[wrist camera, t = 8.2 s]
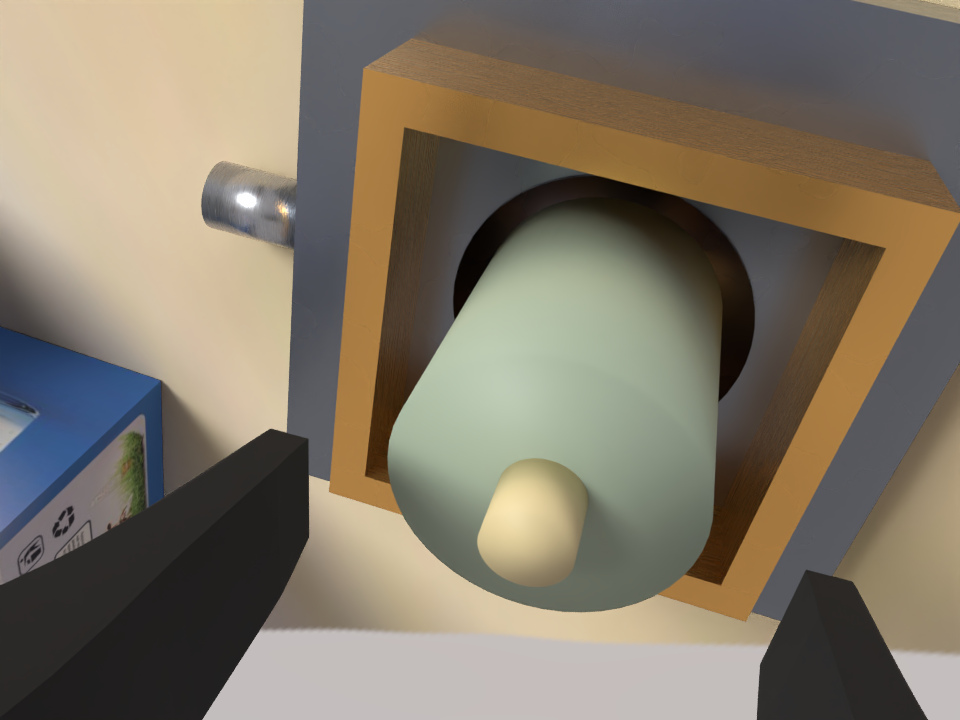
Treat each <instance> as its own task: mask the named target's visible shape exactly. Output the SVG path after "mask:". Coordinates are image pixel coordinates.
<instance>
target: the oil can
mask: <svg viewBox="0 0 960 720" xmlns="http://www.w3.org/2000/svg"><path fill="white" fill-rule="evenodd" d="M722 310H723V305H722V296H721V290H720V286H719V282H718V278H717V276H716V273H715V271H714V269H713V266H712V264H711V262H710V261H709V259H708V257H707V256H706V254H705V252H704V251H703V249H702V248H701V247H700V246H699V245H698V243H697V242H696V241H695V240H694V239H693V237H691V236H690V235H689V234H688V233H687V232H686V231H685V230H684V229H683V228H682V227H681V226H679V225H678V224H676V223H675V222H674V221H672V220H671V219H669V218H668V217H666V216H664V215H662V214H661V213H659V212H657V211H655V210H653V209H651V208H648V207H645V206H643V205H640V204H638V203H634V202H630V201H626V200H622V199H615V198H606V197H586V198H578V199H571V200H567V201H563V202H560V203H556V204H553V205H551V206H548V207H546V208H544V209H541V210H539V211H538V212H536V213H534V214H532V215H531V216H529V217H527V218H526V219H525V220H524V221H522V222H521V223H520V224H519V225H517V226H516V227H515V228H514V229H513V230H512V231H511V232H510V233H509V234H508V235H507V237H506V238H505V239H504V241H503V242H502V243H501V245H500V246H499V248H498V249H497V251H496V253H495V254H494V256H493V258H492V259H491V261H490V263H489V264H488V266H487V268H486V269H485V271H484V273H483V274H482V276H481V278H480V279H479V281H478V283H477V284H476V286H475V288H474V289H473V291H472V293H471V294H470V296H469V298H468V299H467V301H466V303H465V304H464V306H463V308H462V309H461V311H460V313H459V314H458V316H457V318H456V319H455V321H454V323H453V324H452V326H451V328H450V330H449V331H448V333H447V335H446V336H445V338H444V340H443V341H442V343H441V345H440V346H439V348H438V350H437V351H436V353H435V355H434V356H433V358H432V360H431V361H430V363H429V365H428V366H427V368H426V370H425V371H424V373H423V375H422V376H421V378H420V380H419V381H418V383H417V385H416V386H415V388H414V390H413V391H412V393H411V395H410V396H409V398H408V400H407V401H406V403H405V405H404V406H403V408H402V410H401V412H400V414H399V416H398V418H397V420H396V422H395V424H394V426H393V430H392V433H391V437H390V440H389V448H388V457H387V458H388V474H389V479H390V483H391V488H392V491H393V494H394V497H395V500H396V502H397V505H398V507H399V509H400V511H401V513H402V515H403V517H404V519H405V520H406V522H407V523H408V525H409V526H410V528H411V529H412V531H413V532H414V534H415V535H416V536H417V537H418V538H419V540H420V541H421V542H422V543H423V544H424V545H425V547H426V548H427V549H428V550H429V551H430V552H431V553H432V554H434V555H435V556H436V557H437V558H438V559H439V560H440V561H441V562H442V563H444V564H445V565H446V566H447V567H449V568H450V569H451V570H453V571H454V572H455V573H457V574H458V575H460V576H461V577H463V578H465V579H466V580H468V581H469V582H471V583H473V584H475V585H477V586H478V587H480V588H482V589H484V590H486V591H488V592H491V593H493V594H495V595H498V596H500V597H503V598H505V599H508V600H511V601H514V602H517V603H520V604H524V605H528V606H532V607H537V608H541V609H547V610H555V611H562V612H595V611H605V610H611V609H617V608H622V607H625V606H629V605H632V604H636V603H639V602H641V601H643V600H646V599H648V598H651V597H653V596H655V595H657V594H658V593H660V592H662V591H664V590H665V589H667V588H669V587H670V586H671V585H673V584H674V583H675V582H676V581H678V580H679V579H680V578H681V577H683V575H684V574H685V573H686V572H687V571H688V570H689V569H690V568H691V567H692V566H693V565H694V563H695V562H696V560H697V559H698V557H699V556H700V554H701V553H702V551H703V549H704V546H705V544H706V542H707V539H708V537H709V534H710V530H711V525H712V521H713V506H714V484H715V462H716V440H717V419H718V397H719V375H720V353H721V332H722Z"/></svg>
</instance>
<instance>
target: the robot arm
mask: <svg viewBox="0 0 960 720" xmlns="http://www.w3.org/2000/svg"><path fill="white" fill-rule="evenodd" d="M308 538H309V439H308V438H304V437H301V436H297V435H293V434H289V433H285V432H281V431H278V430H274V429H269V430H268V431H266V432H265V433H263V434H261V435H260V436H258V437H257V438H255V439H253V440H252V441H250V442H249V443H247V444H246V445H244V446H243V447H241V448H240V449H238V450H237V451H235V452H234V453H232V454H231V455H229V456H228V457H226V458H225V459H223V460H222V461H220V462H218V463H217V464H215V465H214V466H212V467H211V468H209V469H208V470H206V471H205V472H203V473H202V474H200V475H199V476H197V477H196V478H194V479H193V480H191V481H189V482H188V483H186V484H185V485H183V486H181V487H180V488H178V489H177V490H175V491H173V492H172V493H170V494H169V495H167V496H165V497H164V498H162V499H161V500H159V501H157V502H156V503H154V504H153V505H151V506H150V507H148V508H146V509H145V510H143V511H141V512H140V513H138V514H136V515H135V516H133V517H131V518H129V519H128V520H126V521H124V522H122V523H120V524H119V525H117V526H115V527H113V528H112V529H110V530H108V531H106V532H105V533H103V534H101V535H99V536H98V537H96V538H94V539H92V540H91V541H89V542H87V543H85V544H83V545H82V546H80V547H78V548H76V549H74V550H72V551H70V552H68V553H66V554H64V555H63V556H61V557H59V558H57V559H55V560H53V561H51V562H49V563H47V564H45V565H42V566H40V567H38V568H36V569H34V570H32V571H30V572H28V573H26V574H23V575H21V576H19V577H17V578H15V579H13V580H11V581H9V582H6V583H4V584H2V585H0V720H202V719H203V718H204V716H205V715H206V713H207V711H208V710H209V708H210V707H211V705H212V703H213V702H214V701H215V699H216V697H217V696H218V694H219V693H220V691H221V690H222V688H223V687H224V685H225V683H226V682H227V680H228V678H229V677H230V676H231V674H232V672H233V671H234V669H235V668H236V666H237V665H238V663H239V662H240V660H241V658H242V657H243V655H244V654H245V652H246V651H247V649H248V647H249V646H250V644H251V643H252V641H253V640H254V638H255V637H256V635H257V633H258V632H259V630H260V629H261V627H262V626H263V624H264V622H265V621H266V619H267V618H268V616H269V615H270V613H271V611H272V610H273V608H274V607H275V605H276V603H277V602H278V600H279V598H280V597H281V595H282V593H283V591H284V589H285V587H286V585H287V583H288V581H289V579H290V577H291V575H292V573H293V571H294V568H295V566H296V564H297V562H298V560H299V558H300V555H301V553H302V551H303V549H304V547H305V545H306V542H307V540H308ZM757 720H928V719H927V717H926V716H925V714H924V712H923V711H922V709H921V707H920V705H919V704H918V702H917V700H916V699H915V697H914V695H913V693H912V691H911V690H910V688H909V686H908V684H907V682H906V681H905V679H904V677H903V675H902V673H901V671H900V669H899V668H898V666H897V664H896V662H895V660H894V658H893V656H892V655H891V653H890V651H889V649H888V647H887V645H886V643H885V641H884V640H883V638H882V636H881V634H880V632H879V630H878V628H877V626H876V624H875V622H874V620H873V618H872V617H871V615H870V613H869V611H868V609H867V607H866V605H865V603H864V601H863V599H862V597H861V595H860V594H859V592H858V590H857V588H856V587H855V585H854V583H853V582H852V581H848V580H844V579H840V578H836V577H833V576H829V575H825V574H821V573H817V572H814V571H810V570H805V572H804V575H803V577H802V579H801V581H800V583H799V585H798V587H797V589H796V591H795V593H794V595H793V597H792V599H791V601H790V604H789V606H788V608H787V610H786V612H785V614H784V616H783V618H782V620H781V622H780V624H779V626H778V628H777V631H776V633H775V635H774V637H773V639H772V641H771V643H770V645H769V647H768V649H767V651H766V653H765V655H764V657H763V660H762V662H761V664H760V675H759V691H758V708H757Z"/></svg>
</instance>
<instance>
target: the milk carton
mask: <svg viewBox="0 0 960 720" xmlns="http://www.w3.org/2000/svg"><path fill="white" fill-rule="evenodd" d="M162 498H164V487H163V448H162V409H161V381H160V380H158V379H155V378H152V377H149V376H146V375H143V374H140V373H137V372H134V371H131V370H128V369H125V368H122V367H119V366H116V365H113V364H110V363H107V362H104V361H101V360H98V359H95V358H92V357H89V356H86V355H83V354H80V353H77V352H74V351H71V350H68V349H65V348H62V347H59V346H56V345H53V344H50V343H48V342H45V341H42V340H39V339H36V338H33V337H30V336H27V335H24V334H21V333H18V332H15V331H12V330H9V329H6V328H3V327H0V585H2V584H4V583H6V582H9V581H11V580H13V579H15V578H17V577H19V576H21V575H23V574H26V573H28V572H30V571H32V570H34V569H36V568H38V567H40V566H42V565H45V564H47V563H49V562H51V561H53V560H55V559H57V558H59V557H61V556H63V555H64V554H66V553H68V552H70V551H72V550H74V549H76V548H78V547H80V546H82V545H83V544H85V543H87V542H89V541H91V540H92V539H94V538H96V537H98V536H99V535H101V534H103V533H105V532H106V531H108V530H110V529H112V528H113V527H115V526H117V525H119V524H120V523H122V522H124V521H126V520H128V519H129V518H131V517H133V516H135V515H136V514H138V513H140V512H141V511H143V510H145V509H146V508H148V507H150V506H151V505H153V504H154V503H156V502H157V501H159V500H161V499H162Z"/></svg>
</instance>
